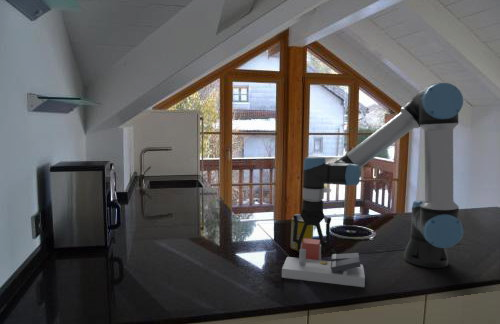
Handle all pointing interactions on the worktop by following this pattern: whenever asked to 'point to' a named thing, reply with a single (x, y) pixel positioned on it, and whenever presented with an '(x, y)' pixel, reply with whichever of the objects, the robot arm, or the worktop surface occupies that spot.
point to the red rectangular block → (311, 248)
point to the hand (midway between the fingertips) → (310, 261)
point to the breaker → (345, 264)
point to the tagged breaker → (343, 256)
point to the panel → (321, 271)
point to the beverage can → (307, 234)
